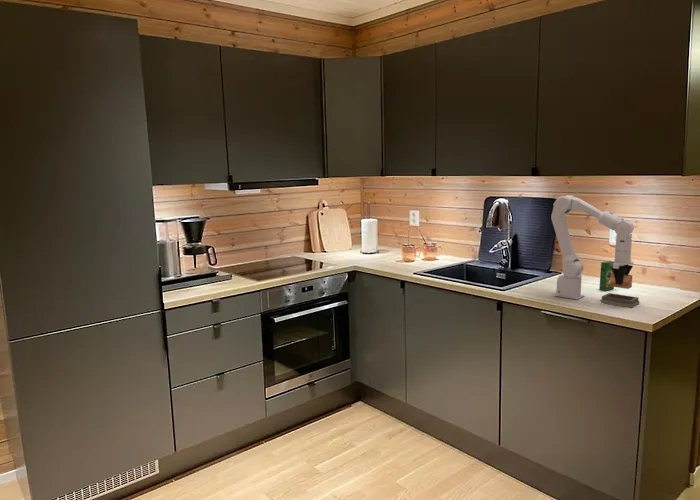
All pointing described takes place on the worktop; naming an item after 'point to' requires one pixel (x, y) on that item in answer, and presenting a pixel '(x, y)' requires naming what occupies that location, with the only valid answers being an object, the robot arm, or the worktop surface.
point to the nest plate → (620, 300)
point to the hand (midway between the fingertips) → (620, 283)
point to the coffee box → (606, 276)
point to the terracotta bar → (625, 284)
